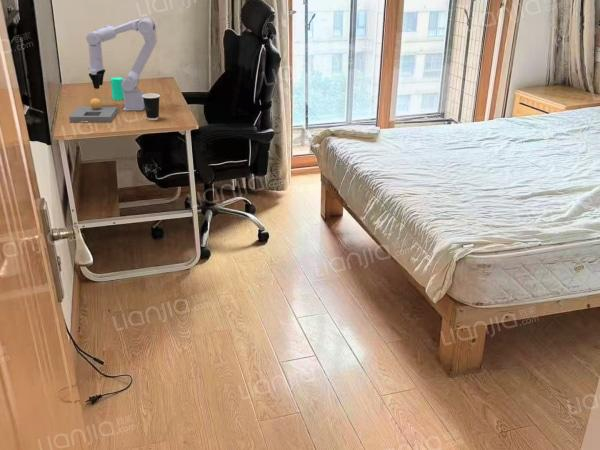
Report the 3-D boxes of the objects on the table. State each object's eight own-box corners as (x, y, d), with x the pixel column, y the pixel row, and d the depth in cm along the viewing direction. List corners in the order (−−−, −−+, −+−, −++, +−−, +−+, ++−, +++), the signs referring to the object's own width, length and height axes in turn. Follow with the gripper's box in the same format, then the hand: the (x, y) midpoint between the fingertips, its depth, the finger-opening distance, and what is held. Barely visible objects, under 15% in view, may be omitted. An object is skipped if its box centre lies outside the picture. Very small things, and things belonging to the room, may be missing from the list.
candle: (112, 100, 311) (110, 76, 305) (112, 97, 316) (110, 74, 311) (124, 99, 312) (122, 76, 307) (124, 97, 317) (122, 74, 312)
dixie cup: (142, 120, 278) (140, 97, 274) (146, 116, 286) (144, 93, 281) (159, 121, 278) (157, 97, 274) (163, 116, 286) (161, 93, 281)
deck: (117, 111, 291) (117, 106, 290) (110, 122, 275) (110, 117, 274) (79, 111, 289) (78, 106, 288) (70, 122, 273) (69, 116, 272)
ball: (102, 107, 288) (101, 97, 286) (100, 110, 283) (99, 99, 281) (91, 107, 287) (90, 97, 285) (89, 110, 283) (88, 99, 281)
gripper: (90, 54, 292) (93, 83, 298) (83, 60, 279) (86, 89, 285) (105, 55, 293) (107, 83, 299) (99, 61, 280) (102, 90, 286)
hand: (98, 86), depth 292 cm, fingers open, 7 cm apart
